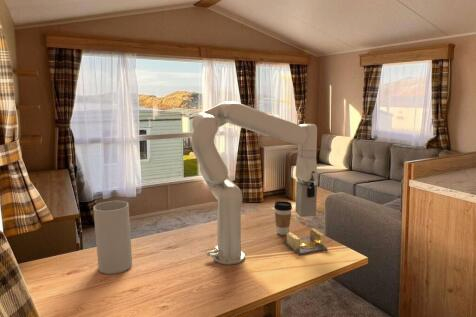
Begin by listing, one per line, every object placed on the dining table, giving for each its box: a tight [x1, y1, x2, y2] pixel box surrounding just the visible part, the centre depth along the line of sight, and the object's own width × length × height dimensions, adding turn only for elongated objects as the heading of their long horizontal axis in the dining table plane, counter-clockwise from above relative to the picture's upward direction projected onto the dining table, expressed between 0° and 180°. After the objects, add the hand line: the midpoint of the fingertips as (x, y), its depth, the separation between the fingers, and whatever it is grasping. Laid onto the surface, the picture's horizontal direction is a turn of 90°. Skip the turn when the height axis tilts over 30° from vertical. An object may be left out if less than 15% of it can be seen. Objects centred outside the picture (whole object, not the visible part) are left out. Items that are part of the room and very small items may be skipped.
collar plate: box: [283, 227, 328, 256], centre depth 156 cm, size 14×13×6 cm
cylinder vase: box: [92, 200, 133, 275], centre depth 137 cm, size 12×12×25 cm
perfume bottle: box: [295, 179, 318, 218], centre depth 153 cm, size 7×7×18 cm
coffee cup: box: [274, 200, 293, 236], centre depth 171 cm, size 8×8×15 cm
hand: (306, 194), depth 152 cm, fingers closed on perfume bottle, 6 cm apart
